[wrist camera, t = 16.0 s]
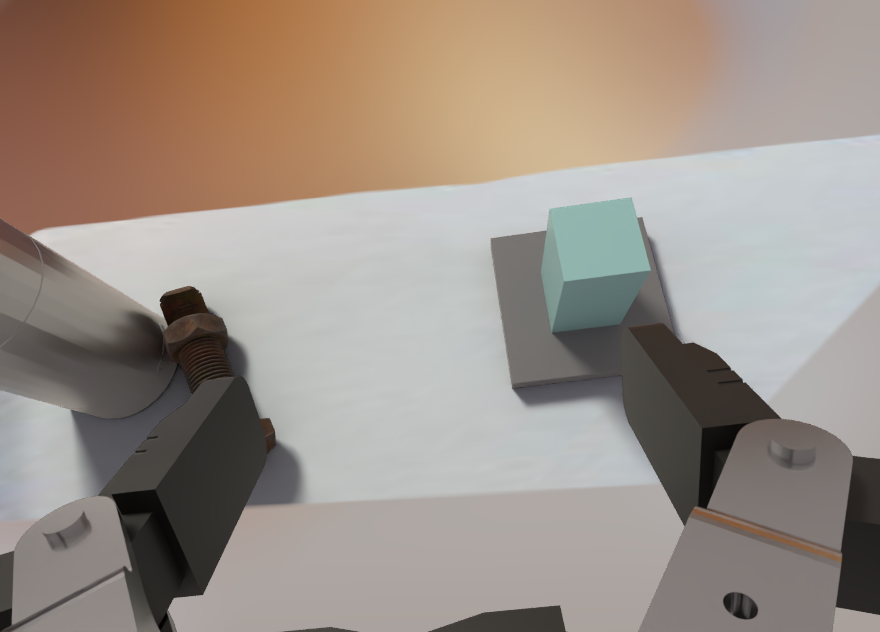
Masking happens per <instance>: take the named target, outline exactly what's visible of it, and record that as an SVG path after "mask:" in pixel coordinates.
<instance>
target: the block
mask: <svg viewBox="0 0 880 632" xmlns="http://www.w3.org/2000/svg"><path fill="white" fill-rule="evenodd" d="M650 271H651V269H650V265H649V261H648V258H647V254H646V250H645V246H644V243H643V239H642V235H641V231H640V227H639V224H638V220H637V216H636V212H635V208H634V205H633V201H632V198H625V199H617V200H610V201H603V202H596V203H588V204H581V205H574V206H567V207H560V208H552V209H550V211H549V218H548V225H547V232H546V239H545V246H544V253H543V260H542V268H541V276H542V282H543V287H544V293H545V298H546V304H547V310H548V315H549V321H550V326H551V332H552V333H554V332H562V331H570V330H578V329H586V328H594V327H603V326H611V325H619V324H621V322H622V320H623V318H624V317H625V315H626V313H627V311H628V310H629V308H630V306H631V304H632V303H633V301H634V299H635V297H636V296H637V294H638V292H639V290H640V289H641V287H642V285H643V283H644V281H645V280H646V278H647V276H648V274H649V273H650Z"/></svg>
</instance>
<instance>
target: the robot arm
mask: <svg viewBox="0 0 880 632" xmlns="http://www.w3.org/2000/svg"><path fill="white" fill-rule="evenodd" d="M167 327H168V326H167V322H166V320H165V319H163V318H161V317H160V316H158V315H157V314H155V313H153V312H152V311H150V310H149V309H147V308H145V307H144V306H142V305H141V304H139V303H137V302H136V301H134V300H133V299H131V298H130V297H128V296H126V295H125V294H123V293H122V292H120V291H118V290H117V289H115V288H113V287H112V286H110V285H109V284H107V283H105V282H104V281H102V280H100V279H99V278H97V277H95V276H94V275H92V274H91V273H89V272H87V271H86V270H84V269H82V268H81V267H79V266H77V265H76V264H74V263H73V262H71V261H69V260H68V259H66V258H64V257H63V256H61V255H60V254H58V253H56V252H55V251H53V250H51V249H50V248H48V247H46V246H45V245H43V244H42V243H40V242H38V241H37V240H35V239H33V238H32V237H30V236H28V235H27V234H25V233H23V232H21V231H20V230H18V229H17V228H15V227H13V226H12V225H10V224H8V223H7V222H5V221H3V220H2V219H0V390H2V391H6V392H10V393H13V394H17V395H21V396H24V397H28V398H32V399H35V400H39V401H43V402H46V403H50V404H53V405H57V406H60V407H64V408H67V409H71V410H75V411H78V412H82V413H86V414H89V415H93V416H97V417H100V418H108V419H116V418H124V417H127V416H130V415H133V414H136V413H137V412H139V411H141V410H143V409H145V408H147V407H148V406H149V405H150V404H151V403H153V402H154V401H155V400H156V399H157V398H158V397H159V396H160V395H161V394H162V393H163V392H164V390H165V389H166V388H167V386H168V384H169V383H170V381H171V380H172V377H173V375H174V372H175V370H176V367H177V363H175V362H171V361H169V358H168V356H167V353H166V349H165V345H164V339H163V332H164V331H165V330H166V329H167ZM622 388H623V402H624V408H625V412H626V416H627V419H628V422H629V424H630V426H631V428H632V430H633V431H634V433H635V435H636V437H637V439H638V441H639V443H640V444H641V446H642V448H643V450H644V452H645V454H646V456H647V457H648V459H649V461H650V463H651V465H652V467H653V469H654V470H655V472H656V474H657V476H658V478H659V480H660V482H661V483H662V485H663V487H664V489H665V491H666V492H667V494H668V496H669V498H670V500H671V502H672V504H673V506H674V508H675V509H676V511H677V513H678V515H679V517H680V519H681V520H682V522H683V524H684V526H685V527H684V530H683V532H682V534H681V536H680V538H679V541H678V543H677V545H676V548H675V550H674V552H673V554H672V557H671V559H670V561H669V563H668V566H667V568H666V570H665V572H664V575H663V577H662V579H661V581H660V584H659V586H658V588H657V590H656V593H655V595H654V597H653V599H652V602H651V604H650V606H649V608H648V611H647V613H646V615H645V617H644V620H643V622H642V624H641V627H640V629H639V631H638V632H832V630H833V623H834V615H835V608H836V607H839V608H844V609H850V610H856V611H861V612H866V613H872V614H878V615H880V459H875V458H865V457H857V456H852V454H851V451H850V450H849V448H848V447H847V446H846V445H845V444H844V443H843V442H842V441H841V440H840V439H839V438H837V437H836V436H834V435H833V434H831V433H829V432H828V431H826V430H823V429H821V428H819V427H816V426H813V425H811V424H807V423H803V422H799V421H794V420H786V419H781V418H780V417H779V416H778V415H777V414H776V413H775V412H774V411H773V410H772V409H771V408H770V407H769V406H768V405H767V404H766V403H765V402H764V401H763V400H762V399H761V398H760V397H759V396H758V395H757V394H756V393H755V392H754V391H753V390H752V389H751V388H750V387H749V386H748V385H747V384H746V383H743V381H742V379H741V378H740V377H739V376H738V375H737V374H736V373H735V372H734V371H731V368H730V367H729V365H728V364H727V363H726V362H725V361H724V360H723V359H722V358H721V357H720V356H719V355H718V354H717V353H714V352H712V351H710V350H708V349H706V348H704V347H702V346H700V345H698V344H695V343H687V344H682V343H681V342H680V341H679V340H678V338H677V337H676V336H675V335H674V334H673V333H672V332H671V331H670V330H669V328H668V327H667V326H666V325H665V324H664V323H655V324H647V325H639V326H632V327H625V328H624V329H623V332H622ZM266 455H267V444H266V438H265V434H264V431H263V428H262V425H261V422H260V419H259V416H258V413H257V410H256V407H255V404H254V401H253V398H252V395H251V392H250V389H249V386H248V384H247V382H246V380H245V379H244V378H243V377H241V376H235V377H227V378H220V379H212V380H205V381H203V382H202V383H201V384H200V386H199V387H198V388H197V389H196V391H195V392H194V393H193V394H192V395H191V397H190V398H189V399H188V400H187V402H186V403H185V404H184V405H183V406H181V407H180V408H178V409H177V410H175V411H174V412H173V413H171V414H170V415H169V416H167V417H166V418H164V419H163V420H162V421H160V423H159V424H158V425H157V426H156V427H155V429H154V430H153V431H152V432H151V433H150V434H149V436H148V437H147V440H146V441H144V442H143V443H142V444H141V445H140V446H139V448H138V449H137V450H136V454H134V455H132V456H131V457H130V458H129V459H128V461H127V462H126V463H125V464H124V465H123V466H122V468H121V469H120V470H119V471H118V472H117V474H116V475H115V476H114V477H113V478H112V480H111V481H110V482H109V483H108V484H107V485H106V487H105V488H104V489H103V490H102V491H101V493H100V494H99V495H98V496H94V497H87V498H83V499H80V500H77V501H74V502H71V503H69V504H66V505H64V506H62V507H60V508H58V509H56V510H54V511H52V512H51V513H49V514H47V515H46V516H44V517H43V518H41V519H40V520H39V521H37V522H36V523H35V524H34V525H33V526H31V527H30V528H29V529H28V530H27V531H26V532H25V534H23V536H22V537H21V538H20V540H19V541H18V542H17V545H16V547H15V550H14V551H12V552H9V553H6V554H2V555H0V632H177V631H176V628H175V624H174V622H173V620H172V617H171V616H170V613H169V611H168V608H169V606H170V604H171V602H172V600H173V598H177V597H187V596H196V595H203V594H204V591H205V589H206V587H207V585H208V583H209V581H210V579H211V577H212V575H213V572H214V570H215V568H216V566H217V564H218V562H219V560H220V558H221V556H222V553H223V551H224V549H225V547H226V545H227V543H228V541H229V539H230V537H231V535H232V532H233V530H234V528H235V526H236V524H237V522H238V520H239V518H240V516H241V513H242V511H243V509H244V507H245V505H246V503H247V501H248V499H249V497H250V494H251V492H252V490H253V488H254V486H255V484H256V482H257V480H258V478H259V476H260V473H261V471H262V469H263V467H264V465H265V461H266ZM285 632H357V631H351V630H345V629H339V628H333V627H327V628H317V629H306V630H296V631H285ZM429 632H566V631H565V626H564V622H563V618H562V613H561V608H560V606H549V607H539V608H528V609H518V610H507V611H497V612H486V613H481V614H479V615H476V616H473V617H470V618H467V619H464V620H461V621H458V622H455V623H453V624H449V625H446V626H444V627H441V628H438V629H435V630H432V631H429Z"/></svg>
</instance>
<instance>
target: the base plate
mask: <svg viewBox="0 0 880 632" xmlns="http://www.w3.org/2000/svg"><path fill="white" fill-rule="evenodd" d="M637 220H638V224H639V227H640V231H641V235H642V239H643V243H644V246H645V250H646V254H647V258H648V261H649V265H650V269H651V271H650V273H649V274H648V276H647V278H646V280H645V281H644V283H643V285H642V287H641V289H640V290H639V292H638V294H637V296H636V297H635V299H634V301H633V303H632V304H631V306H630V308H629V310H628V311H627V313H626V315H625V317H624V318H623V320H622V322H621V324H619V325H611V326H603V327H594V328H586V329H578V330H570V331H562V332H554V333H552V332H551V326H550V321H549V315H548V310H547V304H546V298H545V293H544V287H543V282H542V276H541V268H542V260H543V253H544V246H545V239H546V232H547V231H541V232H534V233H527V234H519V235H512V236H505V237H498V238H491V251H492V258H493V265H494V271H495V278H496V285H497V291H498V298H499V304H500V311H501V318H502V324H503V331H504V338H505V344H506V351H507V358H508V364H509V371H510V377H511V384H512V388H520V387H529V386H537V385H545V384H553V383H561V382H569V381H578V380H586V379H594V378H602V377H610V376H619V375H622V332H623V329H624V328H625V327H632V326H639V325H647V324H655V323H664V324H665V325H666V326H667V327H668V328H669V330H670V331H671V332H672V333H673V334H674V331H673V327H672V323H671V320H670V316H669V313H668V309H667V305H666V302H665V298H664V294H663V291H662V287H661V284H660V280H659V276H658V273H657V269H656V266H655V262H654V258H653V255H652V251H651V247H650V244H649V240H648V237H647V233H646V229H645V226H644V222H643V218H642V217H640V218H637ZM674 335H675V334H674Z"/></svg>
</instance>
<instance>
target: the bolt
mask: <svg viewBox="0 0 880 632" xmlns="http://www.w3.org/2000/svg"><path fill="white" fill-rule="evenodd" d="M198 292H199V291H198V290H196V289H195V288H194V287H191V286H187V287H183V288H179V289H176V290H172V291H169V292H166V293H165V294H164V295H163V296H162V297H161V299H160V302H161V303H160V306H161V309H162V311H163V314H164V317H165V320H166V322H167V326H168V327H167V329H166V330H165V331H164V332H163V339H164V345H165V349H166V353H167V356H168V358H169V361H171V362H175V363H178V364H181V366H182V369H183V371H184V374H185V377H186V380H187V381H188V385H189V388H190V391H191V393H192V394H193V393H194V392H195V391H196V389H197V388H198V387H199V386H200V384H201V383H202V382H203V381H205V380H212V379H220V378H227V377H234V375H233V372H232V369H231V367H230V365H229V362H228V359H227V358H226V355H225V352H224V348H225V347H226V346H227V343H228V336H227V329H226V326H225V324H224V321H223V319H222V318H220V317H217V316H215V315H211V314H209V312H208V309H207V307H206V305H205V302H204V299H203V297H202V294H201V292H200V293H198ZM260 422H261V425H262V428H263V431H264V434H265V438H266V444H267V453H269V451H270V450H271V449H272V448H273V447H274V446H275V439H276V438H275V430H274V428H273V425H272V423H271V420H270V418H264V419H260Z"/></svg>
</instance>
